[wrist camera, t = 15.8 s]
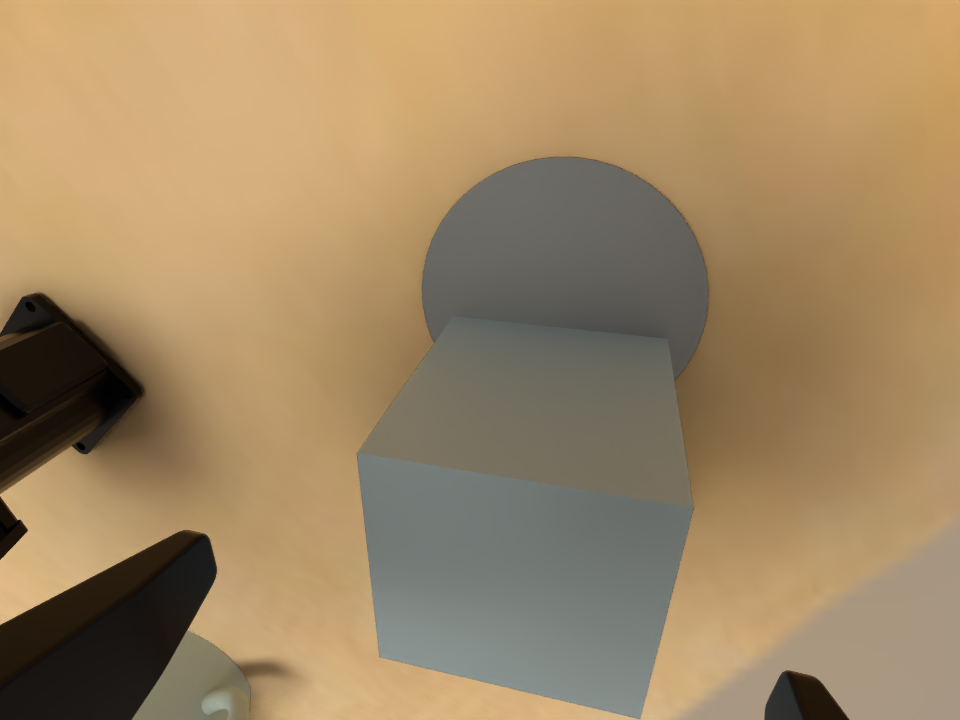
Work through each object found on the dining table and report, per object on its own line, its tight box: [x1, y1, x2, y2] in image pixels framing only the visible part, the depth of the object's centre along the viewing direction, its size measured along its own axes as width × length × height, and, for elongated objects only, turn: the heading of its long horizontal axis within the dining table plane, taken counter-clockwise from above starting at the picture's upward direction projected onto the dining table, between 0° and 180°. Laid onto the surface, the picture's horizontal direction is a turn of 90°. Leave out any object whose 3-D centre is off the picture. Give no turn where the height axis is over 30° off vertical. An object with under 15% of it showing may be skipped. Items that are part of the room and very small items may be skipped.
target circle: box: [422, 157, 709, 380], centre depth 20 cm, size 10×10×1 cm
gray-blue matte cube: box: [357, 316, 694, 719], centre depth 18 cm, size 8×8×9 cm
